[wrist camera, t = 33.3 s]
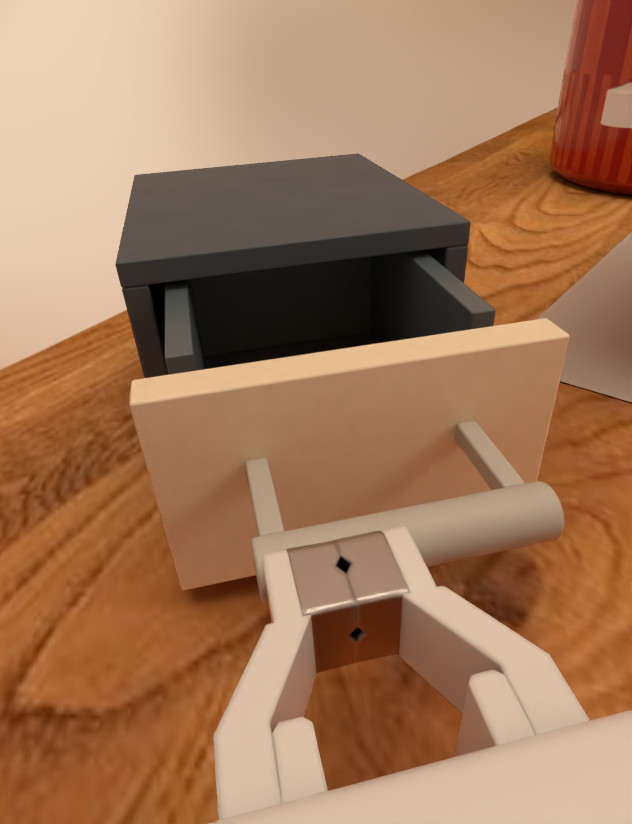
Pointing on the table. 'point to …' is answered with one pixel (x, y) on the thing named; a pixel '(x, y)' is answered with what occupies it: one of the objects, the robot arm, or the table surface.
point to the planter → (594, 98)
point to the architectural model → (601, 301)
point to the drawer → (346, 416)
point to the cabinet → (269, 228)
